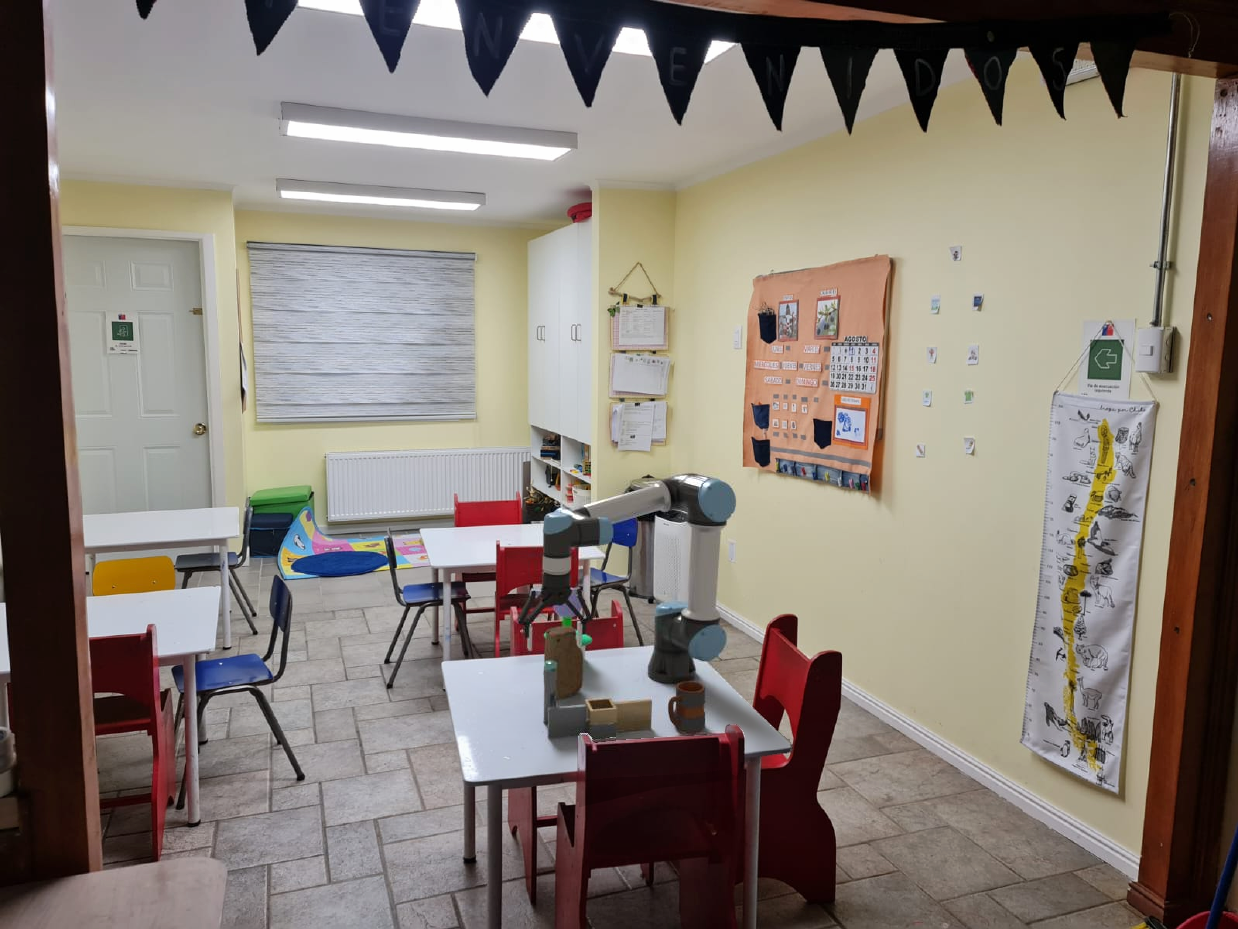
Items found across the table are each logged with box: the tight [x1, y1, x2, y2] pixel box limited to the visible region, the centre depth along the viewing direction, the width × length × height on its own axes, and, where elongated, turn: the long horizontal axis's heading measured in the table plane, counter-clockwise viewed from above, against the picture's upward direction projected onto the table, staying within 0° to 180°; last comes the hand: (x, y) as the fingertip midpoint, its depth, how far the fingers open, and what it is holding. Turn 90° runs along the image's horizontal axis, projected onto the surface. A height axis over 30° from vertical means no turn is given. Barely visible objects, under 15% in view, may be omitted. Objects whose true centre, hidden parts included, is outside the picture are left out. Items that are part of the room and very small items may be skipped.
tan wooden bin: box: [584, 697, 653, 732], centre depth 229 cm, size 18×7×8 cm, turn 104°
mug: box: [667, 680, 706, 734], centre depth 232 cm, size 9×12×12 cm
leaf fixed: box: [547, 704, 618, 741], centre depth 227 cm, size 18×7×8 cm, turn 104°
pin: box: [543, 660, 558, 726], centre depth 233 cm, size 3×3×17 cm
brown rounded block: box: [543, 625, 584, 699], centre depth 252 cm, size 11×8×20 cm
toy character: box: [543, 587, 593, 660], centre depth 276 cm, size 15×12×25 cm
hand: (554, 647), depth 231 cm, fingers open, 13 cm apart
